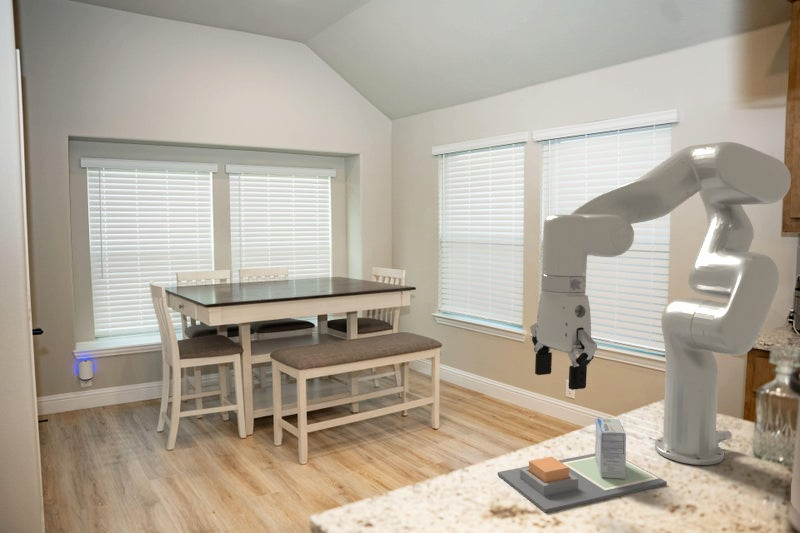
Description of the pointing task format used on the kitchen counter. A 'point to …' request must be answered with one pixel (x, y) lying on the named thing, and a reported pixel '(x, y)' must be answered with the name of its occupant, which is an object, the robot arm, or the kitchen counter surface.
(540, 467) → the button
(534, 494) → the activity board
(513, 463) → the kitchen counter surface
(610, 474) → the medicine box
